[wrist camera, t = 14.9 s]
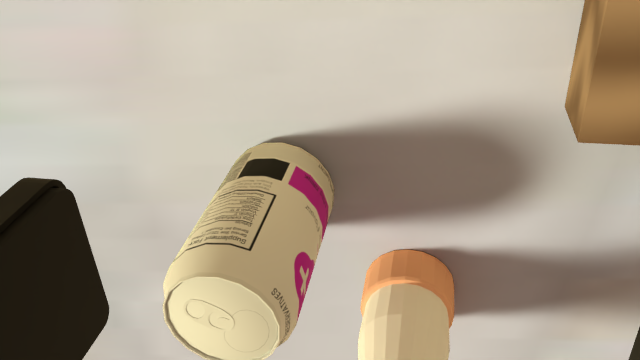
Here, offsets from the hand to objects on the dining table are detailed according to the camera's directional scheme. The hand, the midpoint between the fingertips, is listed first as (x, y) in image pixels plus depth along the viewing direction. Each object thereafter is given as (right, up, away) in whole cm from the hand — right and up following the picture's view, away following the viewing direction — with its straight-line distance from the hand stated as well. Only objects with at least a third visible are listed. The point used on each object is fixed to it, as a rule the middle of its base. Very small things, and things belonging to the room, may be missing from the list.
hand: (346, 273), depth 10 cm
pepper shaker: (+7, -7, +39) cm, 41 cm away
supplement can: (-3, +1, +37) cm, 37 cm away
